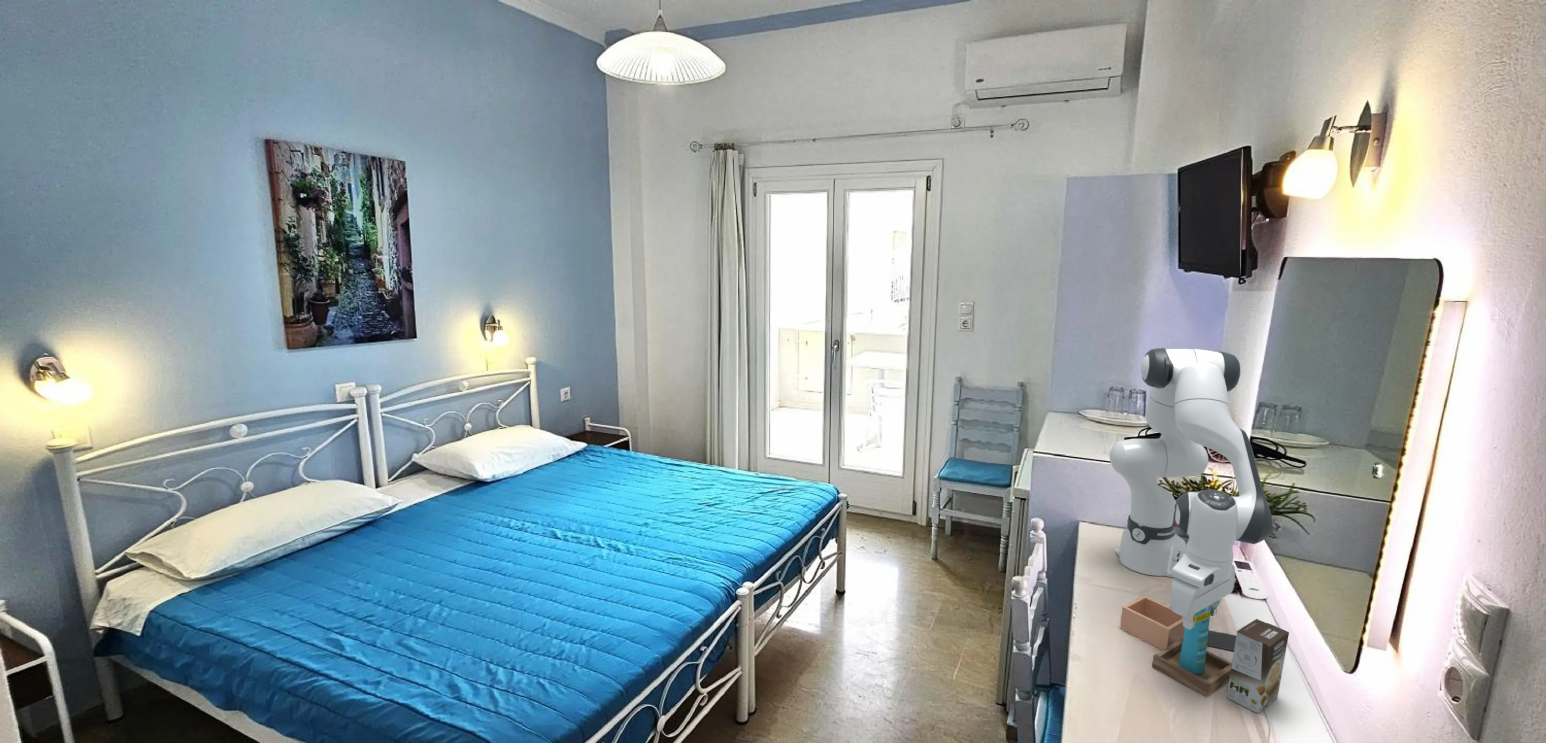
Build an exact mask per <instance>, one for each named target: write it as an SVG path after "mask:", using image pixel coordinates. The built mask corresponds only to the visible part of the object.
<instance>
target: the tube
mask: <svg viewBox="0 0 1546 743" xmlns="http://www.w3.org/2000/svg"><path fill="white" fill-rule="evenodd" d="M1210 613H1211V605H1209V606H1208V607H1206V608H1204V609H1202V610H1201V611H1199V612H1197V613H1196V614H1194V616H1193V620H1194V621H1195V627H1194V628H1192V629H1191V630H1189V629H1187V628H1185V630H1184V636H1183V642H1182V648H1181V654H1180V660H1179V666H1180V667H1181V668H1183V669H1185V670H1187V671H1189V672H1191V673H1193V674H1202V673H1203V672H1204V667H1205V658H1206V651H1207V648H1208V646H1207V640H1208V631H1209V629H1210V621H1211V616H1210Z"/></svg>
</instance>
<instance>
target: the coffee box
mask: <svg viewBox="0 0 1546 743" xmlns="http://www.w3.org/2000/svg"><path fill="white" fill-rule="evenodd" d="M1289 634H1290V631H1287V630H1285V629H1284V628H1281V627H1279V626H1276V625H1273V624H1272V623H1269V622H1265V621H1263V620H1260V619H1258V618H1256V619H1254V620H1252V621H1251V622H1249V623H1248V624H1246V625H1244V626H1243V627H1241V628H1239V629H1238V630H1236V634H1235V635H1236V641H1235V647H1234V652H1232V653H1233V654H1232V661H1231V663H1232V666H1231V672H1230V679H1229V682H1228V686H1227V692H1226V698H1227V699H1229V700H1231V701H1233V702H1235V703H1236V704H1239V705H1241V706H1243V707H1244V708H1246V709H1248V710H1250V711H1252V712H1254V713H1256V714H1260V711H1261V712H1262V711H1263V710H1264V709H1265V708H1267V707H1268V706H1270V703H1271V702H1272V703H1273V702H1275V701H1276V700H1277V699H1278V698H1279V693H1280V687H1281V681H1282V675H1283V669H1284V664H1285V658H1286V652H1287V647H1288V642H1289V636H1290V635H1289ZM1275 699H1276V700H1275ZM1272 703H1271V704H1272Z"/></svg>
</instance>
